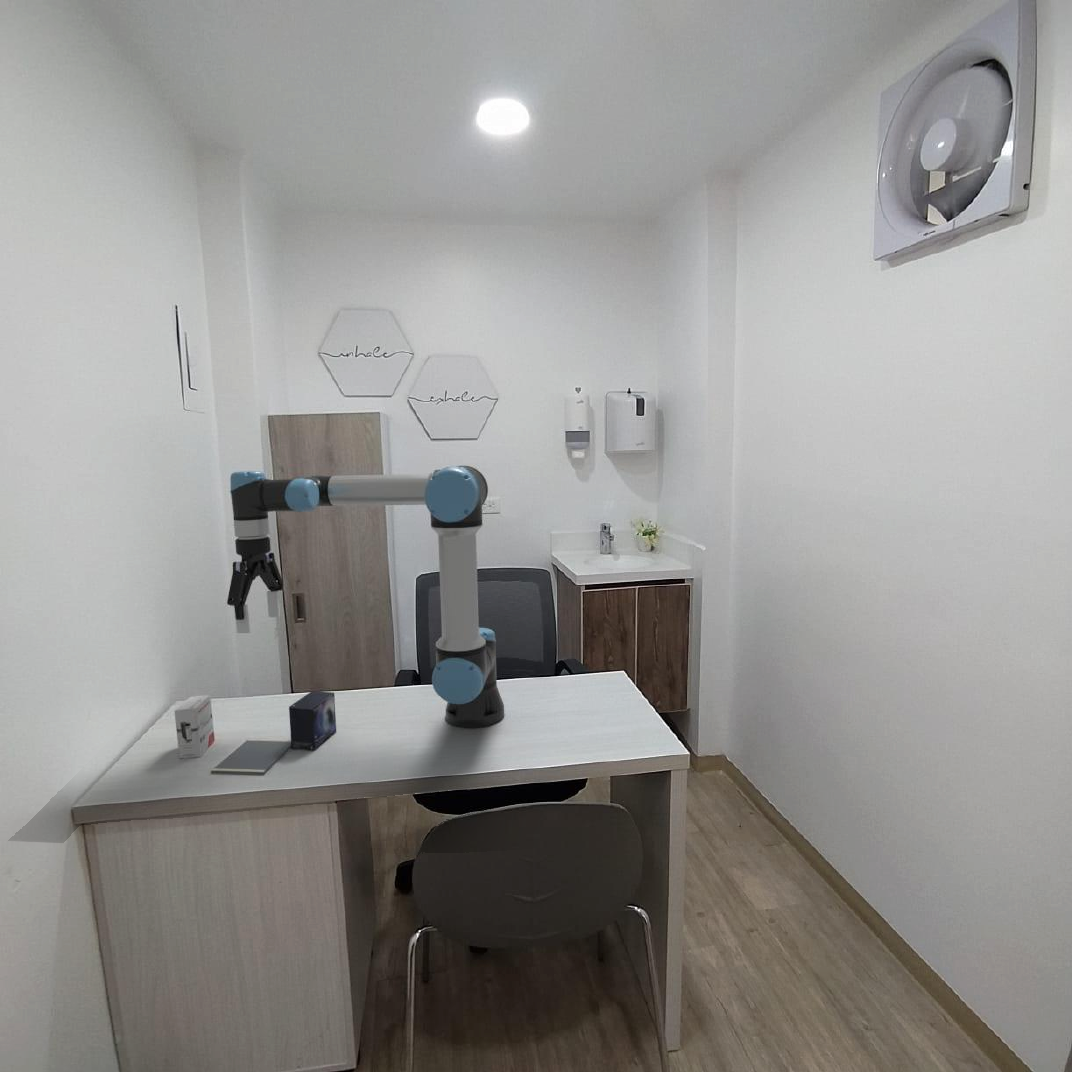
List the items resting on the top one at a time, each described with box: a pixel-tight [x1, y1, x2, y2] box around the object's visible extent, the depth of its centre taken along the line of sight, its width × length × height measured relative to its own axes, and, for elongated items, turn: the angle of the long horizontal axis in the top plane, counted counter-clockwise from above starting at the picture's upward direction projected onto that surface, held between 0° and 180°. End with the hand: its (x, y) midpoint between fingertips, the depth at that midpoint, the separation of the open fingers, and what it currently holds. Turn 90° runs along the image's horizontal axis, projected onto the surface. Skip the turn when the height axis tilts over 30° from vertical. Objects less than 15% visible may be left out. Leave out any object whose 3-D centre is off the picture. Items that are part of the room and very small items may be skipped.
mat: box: [210, 738, 291, 776], centre depth 146 cm, size 12×15×1 cm
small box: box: [288, 690, 337, 752], centre depth 153 cm, size 11×6×10 cm, turn 168°
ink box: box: [173, 694, 216, 759], centre depth 150 cm, size 9×5×12 cm, turn 5°
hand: (259, 624), depth 154 cm, fingers open, 13 cm apart
